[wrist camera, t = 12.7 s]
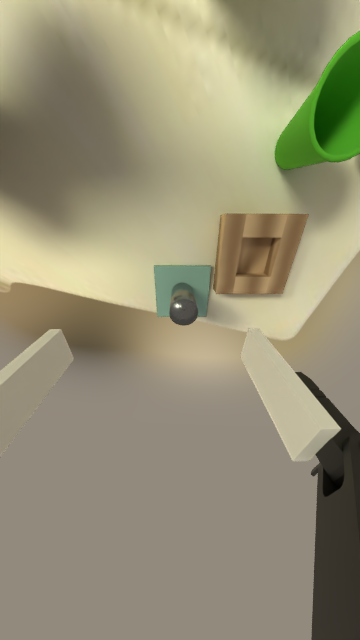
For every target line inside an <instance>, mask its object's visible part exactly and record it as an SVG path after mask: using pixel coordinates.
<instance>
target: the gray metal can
mask: <svg viewBox="0 0 360 640" xmlns="http://www.w3.org/2000/svg"><path fill="white" fill-rule="evenodd" d="M169 315H170V318H171V319H172V321H173V322H175V323H176V324H179V325H189V324H191V323H193V322H194V321H195V320H196V318H197V316H198V308H197V304H196V300H195V297H194V293H193V289H192V287H191V286H190V285H189V284H187V283H178V284H176V285H175V286H174V287H173V288H172V291H171V300H170V310H169Z"/></svg>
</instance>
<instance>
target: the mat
mask: <svg viewBox="0 0 360 640" xmlns="http://www.w3.org/2000/svg"><path fill="white" fill-rule="evenodd" d="M154 273H155V287H156V301H157V315H158V317H170V315H169V310H170V300H171V291H172V288H173V287H174V286H175V285H176V284H178V283H187V284H189V285H190V286H191V287H192V289H193V293H194V297H195V300H196V304H197V308H198V316H197V317H206V316H207V305H208V295H209V285H210V274H211V266H186V265H154Z"/></svg>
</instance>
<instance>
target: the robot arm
mask: <svg viewBox="0 0 360 640" xmlns="http://www.w3.org/2000/svg"><path fill="white" fill-rule="evenodd" d="M241 359H242V361H243V363H244V365H245V367H246V369H247V371H248V373H249V375H250V377H251V379H252V381H253V383H254V385H255V387H256V389H257V391H258V393H259V395H260V397H261V399H262V401H263V403H264V405H265V407H266V409H267V410H268V413H269V415H270V417H271V419H272V420H273V423H274V425H275V427H276V429H277V431H278V432H279V435H280V437H281V439H282V441H283V443H284V444H285V446H286V448H287V451H288V453H289V454H290V456H291V458H292V460H293V461H310V460H311V459H312V458H313V457H314V456H315V455H316V456H317V458H318V459H319V461H320V463H319V464H318V465H317V466H316V467H315V468H314V469H313V470H312V472H311V475H312V476H315V475H316V474H317V473H318V485H317V511H316V537H315V563H314V589H313V615H312V640H360V433H359V432H358V431H357V430H356V429H355V428H354V427H353V426H352V425H351V424H350V423H349V422H348V420H347V419H346V418H345V417H344V416H343V415H342V414H341V413H340V411H339V410H338V409H337V408H336V407H335V406H334V405H333V404H332V403H331V401H330V400H329V399H328V398H326V396H325V395H324V393H323V392H322V391H320V390H319V388H318V387H317V386H316V384H315V383H314V382H313V381H312V380H311V379H310V378H308V377H307V376H306V375H304V374H303V373H301V372H294V371H293V370H292V368H291V367H290V366H289V365H288V363H287V362H286V361H285V360H284V359H283V357H282V356H281V355H280V354H279V352H278V351H277V350H276V349H275V348H274V346H273V345H272V344H271V343H270V341H269V340H268V339H267V338H266V337H265V335H264V334H263V333H262V332H261V331H260V329H248V332H247V335H246V339H245V343H244V346H243V350H242V354H241ZM73 360H74V358H73V356H72V353H71V351H70V349H69V346H68V344H67V342H66V339H65V337H64V335H63V332H62V330H61V329H55V330H54V329H53V330H52V329H50V330H49V331H47V332H46V333H45V334H44V335H43V336H41V337H40V338H39V339H38V340H37V341H35V342H34V343H33V344H32V345H31V346H30V347H28V348H27V349H26V350H25V351H24V352H22V353H21V354H20V355H19V356H18V357H16V358H15V359H14V360H13V361H12V362H10V363H9V364H8V365H7V366H6V367H4V368H3V369H2V370H1V371H0V457H1V455H2V454H3V453H4V451H5V450H6V449H7V447H8V446H9V445H10V443H11V442H12V441H13V439H14V438H15V437H16V435H17V434H18V433H19V431H20V430H21V429H22V427H23V426H24V425H25V423H26V422H27V421H28V419H29V418H30V417H31V415H32V414H33V412H34V411H35V410H36V409H37V407H38V406H39V405H40V403H41V402H42V401H43V399H44V398H45V397H46V395H47V394H48V393H49V391H50V390H51V389H52V387H53V386H54V385H55V384H56V382H57V381H58V379H59V378H60V377H61V375H62V374H63V373H64V372H65V370H66V369H67V367H68V366H69V365H70V363H71V362H72V361H73Z"/></svg>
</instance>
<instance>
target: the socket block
mask: <svg viewBox="0 0 360 640" xmlns="http://www.w3.org/2000/svg"><path fill="white" fill-rule="evenodd" d="M308 215H309V214H223V215H221V219H220V228H219V237H218V246H217V256H216V265H215V274H214V283H213V289H214V291H215V292H216V294H282V293H283V290H284V287H285V284H286V281H287V278H288V275H289V272H290V269H291V266H292V263H293V260H294V257H295V254H296V251H297V248H298V245H299V242H300V239H301V236H302V233H303V230H304V227H305V224H306V221H307V218H308Z"/></svg>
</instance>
